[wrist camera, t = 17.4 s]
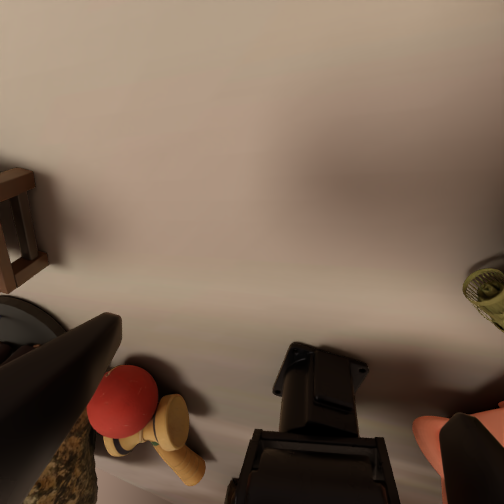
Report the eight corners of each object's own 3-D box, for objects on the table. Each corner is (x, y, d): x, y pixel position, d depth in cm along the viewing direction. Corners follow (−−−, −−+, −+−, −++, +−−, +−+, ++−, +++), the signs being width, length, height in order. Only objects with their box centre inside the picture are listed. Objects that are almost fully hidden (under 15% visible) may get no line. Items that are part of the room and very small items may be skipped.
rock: (-50, 369, 36) (-247, 531, 23) (55, 318, 29) (-144, 511, 16) (79, 468, 44) (-15, 632, 31) (187, 446, 37) (123, 648, 24)
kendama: (234, 444, 37) (157, 354, 27) (215, 510, 32) (113, 431, 23) (182, 433, 40) (97, 350, 31) (158, 491, 36) (48, 416, 26)
